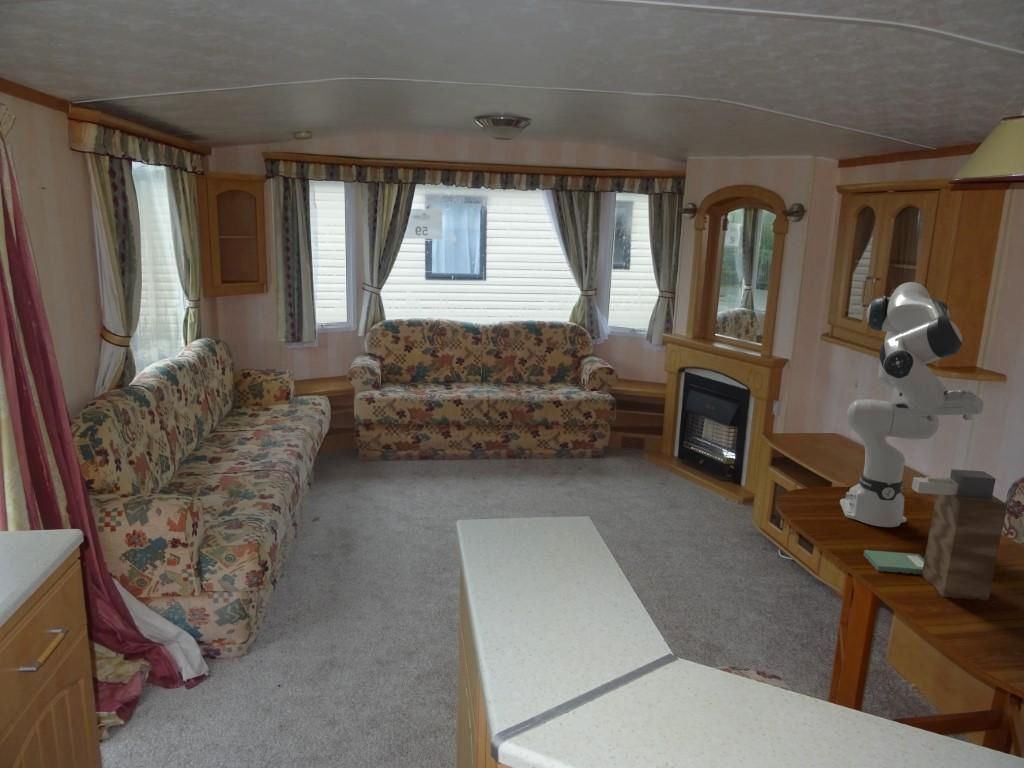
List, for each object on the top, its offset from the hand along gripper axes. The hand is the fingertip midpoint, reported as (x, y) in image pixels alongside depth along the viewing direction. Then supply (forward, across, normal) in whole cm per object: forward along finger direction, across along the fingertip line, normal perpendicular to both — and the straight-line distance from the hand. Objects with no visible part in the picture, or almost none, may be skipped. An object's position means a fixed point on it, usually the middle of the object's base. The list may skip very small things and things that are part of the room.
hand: (949, 417), depth 195 cm
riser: (+20, +1, +40) cm, 45 cm away
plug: (+2, -2, +21) cm, 21 cm away
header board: (+18, +15, +36) cm, 43 cm away
